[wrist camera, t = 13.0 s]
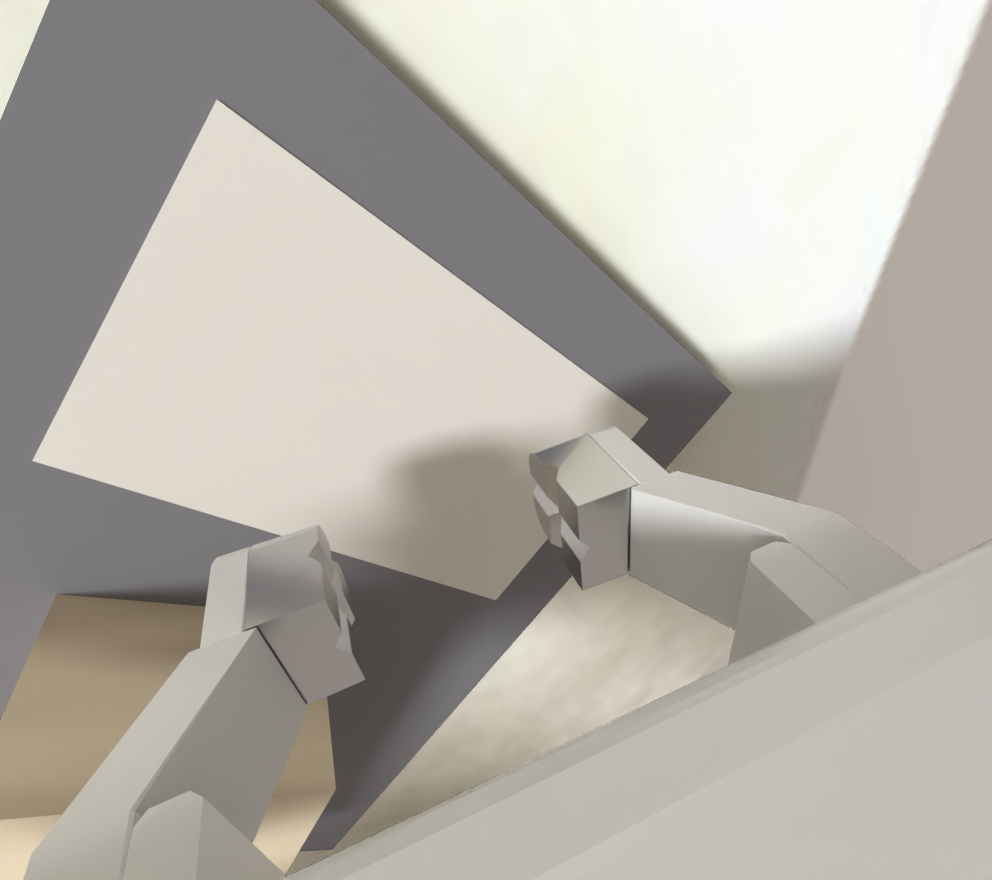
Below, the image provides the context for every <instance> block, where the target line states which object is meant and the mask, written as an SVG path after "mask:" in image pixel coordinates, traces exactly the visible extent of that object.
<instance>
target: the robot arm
mask: <svg viewBox="0 0 992 880" xmlns="http://www.w3.org/2000/svg"><path fill="white" fill-rule="evenodd" d="M529 468H530V474H531V475H532V477H533V478H534V479H535V481H536V482H537V486H536V488H535V490H534V492H533V499H534V505H535V510H536V513H537V516H538V519H539V522H540V524H541V526H542V529H543V531H544V533H545V534H546V536H547V537H548V539H549V541H550V542H551V544H553V545H556V546H558V547H561V548H562V553H563V562H564V563H565V565H566V566H567V568H568V569H569V571H570V572H571V574H572V575H573V577H574V578H575V580H576V581H577V583H578V584H579V586H580V587H581V589H582V590H585V589H588V588H590V587H593V586H595V585H598V584H601V583H603V582H606V581H609V580H611V579H614V578H617V577H619V576H622V575H624V574H627V573H630V576H632V577H634V578H636V579H638V580H640V581H642V582H644V583H646V584H648V585H650V586H652V587H653V588H655V589H657V590H659V591H661V592H663V593H665V594H667V595H669V596H671V597H673V598H674V599H676V600H678V601H680V602H682V603H684V604H686V605H688V606H690V607H692V608H694V609H696V610H697V611H699V612H701V613H703V614H705V615H707V616H709V617H711V618H713V619H715V620H717V621H718V622H720V623H722V624H724V625H726V626H728V627H730V628H732V629H734V630H735V633H734V638H733V643H732V647H731V652H730V657H729V664H728V666H726V667H724V668H721V669H719V670H717V671H715V672H713V673H711V674H709V675H707V676H705V677H703V678H700V679H698V680H696V681H694V682H692V683H690V684H688V685H686V686H684V687H682V688H680V689H677V690H675V691H673V692H671V693H669V694H667V695H665V696H663V697H661V698H659V699H656V700H654V701H652V702H650V703H648V704H646V705H644V706H642V707H640V708H638V709H636V710H633V711H631V712H629V713H627V714H625V715H623V716H621V717H619V718H617V719H615V720H613V721H610V722H608V723H606V724H604V725H602V726H600V727H598V728H596V729H594V730H592V731H590V732H587V733H585V734H583V735H581V736H579V737H577V738H575V739H573V740H571V741H569V742H567V743H565V744H562V745H560V746H558V747H556V748H554V749H552V750H550V751H548V752H546V753H544V754H542V755H539V756H537V757H535V758H533V759H531V760H529V761H527V762H525V763H523V764H521V765H519V766H517V767H514V768H512V769H510V770H508V771H506V772H504V773H502V774H500V775H498V776H496V777H494V778H492V779H489V780H487V781H485V782H483V783H481V784H479V785H477V786H475V787H473V788H471V789H469V790H467V791H464V792H462V793H460V794H458V795H456V796H454V797H452V798H450V799H448V800H446V801H444V802H441V803H439V804H437V805H435V806H433V807H431V808H429V809H427V810H425V811H423V812H421V813H419V814H416V815H414V816H412V817H410V818H408V819H406V820H404V821H402V822H400V823H398V824H396V825H394V826H391V827H389V828H387V829H385V830H383V831H381V832H379V833H377V834H375V835H373V836H371V837H368V838H366V839H364V840H362V841H360V842H358V843H356V844H354V845H352V846H350V847H348V848H345V849H343V850H341V851H339V852H337V853H335V854H333V855H331V856H329V857H327V858H325V859H323V860H320V861H318V862H316V863H314V864H312V865H310V866H308V867H306V868H304V869H302V870H300V871H297V872H295V873H293V874H291V875H289V876H286V875H285V874H284V873H283V872H282V871H281V870H280V869H279V868H278V867H277V866H276V865H275V864H274V863H273V862H272V861H270V860H269V859H268V858H267V857H266V856H265V855H264V854H263V853H262V852H261V851H260V850H259V849H258V848H257V847H256V846H255V845H253V841H254V839H255V837H256V834H257V832H258V829H259V827H260V825H261V822H262V820H263V817H264V815H265V813H266V810H267V808H268V805H269V803H270V800H271V798H272V796H273V793H274V791H275V788H276V786H277V784H278V781H279V779H280V776H281V774H282V771H283V769H284V767H285V764H286V762H287V759H288V757H289V755H290V752H291V750H292V747H293V745H294V743H295V740H296V738H297V735H298V733H299V730H300V728H301V726H302V723H303V721H304V718H305V716H306V714H307V711H308V707H307V705H309V704H311V703H314V702H316V701H318V700H320V699H323V698H325V697H327V696H329V695H332V694H334V693H336V692H339V691H341V690H343V689H345V688H348V687H350V686H352V685H354V684H357V683H359V682H361V681H363V680H365V675H364V669H363V663H362V657H361V651H360V645H359V641H358V639H357V637H356V635H355V632H354V630H353V628H352V624H353V622H354V620H355V615H354V610H353V605H352V601H351V597H350V593H349V590H348V586H347V583H346V581H345V578H344V575H343V573H342V570H341V568H340V566H339V564H338V563H337V562H335V561H333V560H332V558H331V552H330V545H329V542H328V540H327V537H326V535H325V533H324V531H323V529H322V528H321V527H320V526H319V525H315V526H312V527H309V528H306V529H303V530H300V531H296V532H293V533H290V534H287V535H284V536H281V537H277V538H274V539H271V540H268V541H265V542H262V543H259V544H255V545H252V547H247V548H244V549H241V550H238V551H235V552H232V553H229V554H225V555H222V556H219V557H217V558H216V559H215V560H214V562H213V563H212V565H211V570H210V577H209V585H208V592H207V599H206V607H205V614H204V622H203V629H202V636H201V644H200V648H199V649H197V650H194V651H191V652H189V653H188V654H187V655H186V656H185V658H184V659H183V660H182V661H181V663H180V664H179V665H178V667H177V668H176V669H175V670H174V672H173V673H172V674H171V676H170V677H169V678H168V679H167V681H166V682H165V683H164V685H163V686H162V687H161V688H160V690H159V691H158V692H157V694H156V695H155V696H154V697H153V699H152V700H151V701H150V703H149V704H148V705H147V706H146V708H145V709H144V710H143V712H142V713H141V714H140V715H139V717H138V718H137V719H136V721H135V722H134V723H133V724H132V726H131V727H130V728H129V730H128V731H127V732H126V733H125V735H124V736H123V737H122V739H121V740H120V741H119V742H118V744H117V745H116V746H115V748H114V749H113V750H112V751H111V753H110V754H109V755H108V757H107V758H106V759H105V760H104V762H103V763H102V764H101V766H100V767H99V768H98V769H97V771H96V772H95V773H94V774H93V776H92V777H91V778H90V780H89V781H88V782H87V783H86V785H85V786H84V787H83V789H82V790H81V791H80V792H79V794H78V795H77V796H76V798H75V799H74V800H73V801H72V803H71V804H70V805H69V807H68V808H67V809H66V810H65V812H64V813H63V814H62V816H61V817H60V818H59V819H58V821H57V822H56V823H55V825H54V826H53V827H52V828H51V830H50V831H49V832H48V834H47V835H46V836H45V837H44V839H43V840H42V841H41V843H40V844H39V845H38V846H37V848H36V849H35V850H34V852H33V853H32V854H31V857H30V860H29V863H28V866H27V870H26V873H25V876H24V879H23V880H992V539H991V540H989V541H987V542H985V543H982V544H980V545H978V546H976V547H974V548H972V549H970V550H968V551H966V552H964V553H962V554H960V555H957V556H955V557H954V558H951V559H949V560H947V561H945V562H943V563H941V564H939V565H937V566H935V567H932V568H930V569H928V570H926V571H924V572H922V571H921V570H919V569H918V568H916V567H915V566H913V565H912V564H910V563H909V562H908V561H906V560H905V559H903V558H902V557H900V556H899V555H897V554H896V553H895V552H893V551H892V550H890V549H889V548H887V547H886V546H885V545H883V544H882V543H880V542H879V541H878V540H876V539H875V538H873V537H872V536H870V535H869V534H868V533H866V532H865V531H863V530H862V529H860V528H859V527H857V526H856V525H855V524H853V523H852V522H850V521H849V520H848V519H846V518H845V517H843V516H842V515H840V514H839V513H837V512H833V511H829V510H826V509H822V508H818V507H814V506H810V505H806V504H803V503H799V502H795V501H791V500H787V499H783V498H780V497H776V496H772V495H768V494H764V493H760V492H757V491H753V490H749V489H745V488H741V487H738V486H734V485H730V484H726V483H722V482H718V481H715V480H711V479H707V478H703V477H699V476H695V475H692V474H688V473H684V472H680V471H675V472H673V473H670V474H669V473H668V472H667V471H666V470H665V469H664V468H662V467H661V466H660V465H659V464H658V463H657V462H656V461H654V460H653V459H652V458H651V457H650V456H649V455H648V454H646V453H645V452H644V451H643V450H642V449H641V448H640V447H638V446H637V445H636V444H635V443H634V442H633V441H632V440H631V439H629V438H628V437H627V436H626V435H625V434H624V433H623V432H621V431H620V430H619V429H618V428H617V427H616V426H613V425H606V426H604V427H601V428H598V429H595V430H593V431H590V432H587V433H585V434H583V435H582V436H579V437H576V438H573V439H570V440H567V441H564V442H561V443H558V444H556V445H553V446H550V447H547V448H544V449H541V450H538V451H535V452H532V453H530V455H529Z"/></svg>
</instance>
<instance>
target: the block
mask: <svg viewBox="0 0 992 880" xmlns="http://www.w3.org/2000/svg"><path fill="white" fill-rule="evenodd" d="M204 614H205V607H204V606H192V605H180V604H168V603H156V602H144V601H132V600H120V599H108V598H96V597H84V596H72V595H60V594H57V595H56V597H55V599H54V601H53V604H52V606H51V608H50V610H49V613H48V615H47V617H46V619H45V621H44V624H43V626H42V628H41V630H40V633H39V635H38V637H37V639H36V642H35V644H34V646H33V648H32V651H31V653H30V655H29V657H28V660H27V662H26V664H25V666H24V669H23V671H22V673H21V675H20V677H19V680H18V682H17V684H16V686H15V689H14V691H13V693H12V695H11V698H10V700H9V702H8V704H7V707H6V709H5V711H4V713H3V716H2V718H1V720H0V880H23V879H24V876H25V873H26V870H27V866H28V863H29V860H30V857H31V854H32V853H33V852H34V850H35V849H36V848H37V846H38V845H39V844H40V843H41V841H42V840H43V839H44V837H45V836H46V835H47V834H48V832H49V831H50V830H51V828H52V827H53V826H54V825H55V823H56V822H57V821H58V819H59V818H60V817H61V816H62V814H63V813H64V812H65V810H66V809H67V808H68V807H69V805H70V804H71V803H72V801H73V800H74V799H75V798H76V796H77V795H78V794H79V792H80V791H81V790H82V789H83V787H84V786H85V785H86V783H87V782H88V781H89V780H90V778H91V777H92V776H93V774H94V773H95V772H96V771H97V769H98V768H99V767H100V766H101V764H102V763H103V762H104V760H105V759H106V758H107V757H108V755H109V754H110V753H111V751H112V750H113V749H114V748H115V746H116V745H117V744H118V742H119V741H120V740H121V739H122V737H123V736H124V735H125V733H126V732H127V731H128V730H129V728H130V727H131V726H132V724H133V723H134V722H135V721H136V719H137V718H138V717H139V715H140V714H141V713H142V712H143V710H144V709H145V708H146V706H147V705H148V704H149V703H150V701H151V700H152V699H153V697H154V696H155V695H156V694H157V692H158V691H159V690H160V688H161V687H162V686H163V685H164V683H165V682H166V681H167V679H168V678H169V677H170V676H171V674H172V673H173V672H174V670H175V669H176V668H177V667H178V665H179V664H180V663H181V661H182V660H183V659H184V658H185V656H186V655H187V654H188V653H189V652H191V651H194V650H197V649H199V648H200V644H201V636H202V629H203V622H204ZM307 707H308V711H307V714H306V716H305V718H304V721H303V723H302V726H301V728H300V730H299V733H298V735H297V738H296V740H295V743H294V745H293V747H292V750H291V752H290V755H289V757H288V759H287V762H286V764H285V767H284V769H283V771H282V774H281V776H280V779H279V781H278V784H277V786H276V788H275V791H274V793H273V796H272V798H271V800H270V803H269V805H268V808H267V810H266V813H265V815H264V817H263V820H262V822H261V825H260V827H259V829H258V832H257V834H256V837H255V839H254V841H253V845H255V846H256V847H257V848H258V849H259V850H260V851H261V852H262V853H263V854H264V855H265V856H266V857H267V858H268V859H269V860H270V861H272V862H273V863H274V864H275V865H276V866H277V867H278V868H279V869H280V870H281V871H282V872H283V873H284V874H286V872H287V871H288V869H289V867H290V866H291V864H292V862H293V861H294V859H295V857H296V856H297V854H298V852H299V851H300V849H301V847H302V845H303V844H304V842H305V840H306V839H307V837H308V835H309V834H310V832H311V830H312V829H313V827H314V825H315V824H316V822H317V820H318V819H319V817H320V815H321V814H322V812H323V810H324V809H325V807H326V805H327V803H328V802H329V800H330V798H331V797H332V795H333V793H334V792H335V790H336V784H335V773H334V763H333V753H332V743H331V732H330V722H329V712H328V702H327V697H325V698H323V699H320V700H318V701H316V702H314V703H311V704H309V705H307Z"/></svg>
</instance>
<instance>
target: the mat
mask: <svg viewBox="0 0 992 880" xmlns="http://www.w3.org/2000/svg"><path fill="white" fill-rule="evenodd" d="M731 393H732V392H731V391H729V390H728V389H727V388H726V387H725V386H724V385H723V384H722V383H721V382H720V381H719V380H718V379H717V378H716V377H715V376H714V375H712V374H711V373H710V372H709V371H708V370H707V369H706V368H705V367H704V366H703V365H702V364H701V363H700V362H699V361H698V360H697V359H696V358H694V357H693V356H692V355H691V354H690V353H689V352H688V351H687V350H686V349H685V348H684V347H683V346H682V345H681V344H680V343H679V342H677V341H676V340H675V339H674V338H673V337H672V336H671V335H670V334H669V333H668V332H667V331H666V330H665V329H664V328H663V327H662V326H661V325H659V324H658V323H657V322H656V321H655V320H654V319H653V318H652V317H651V316H650V315H649V314H648V313H647V312H646V311H645V310H644V309H642V308H641V307H640V306H639V305H638V304H637V303H636V302H635V301H634V300H633V299H632V298H631V297H630V296H629V295H628V294H627V293H626V292H624V291H623V290H622V289H621V288H620V287H619V286H618V285H617V284H616V283H615V282H614V281H613V280H612V279H611V278H610V277H609V276H607V275H606V274H605V273H604V272H603V271H602V270H601V269H600V268H599V267H598V266H597V265H596V264H595V263H594V262H593V261H592V260H591V259H589V258H588V257H587V256H586V255H585V254H584V253H583V252H582V251H581V250H580V249H579V248H578V247H577V246H576V245H575V244H574V243H572V242H571V241H570V240H569V239H568V238H567V237H566V236H565V235H564V234H563V233H562V232H561V231H560V230H559V229H558V228H557V227H556V226H554V225H553V224H552V223H551V222H550V221H549V220H548V219H547V218H546V217H545V216H544V215H543V214H542V213H541V212H540V211H539V210H537V209H536V208H535V207H534V206H533V205H532V204H531V203H530V202H529V201H528V200H527V199H526V198H525V197H524V196H523V195H522V194H521V193H519V192H518V191H517V190H516V189H515V188H514V187H513V186H512V185H511V184H510V183H509V182H508V181H507V180H506V179H505V178H504V177H502V176H501V175H500V174H499V173H498V172H497V171H496V170H495V169H494V168H493V167H492V166H491V165H490V164H489V163H488V162H487V161H486V160H484V159H483V158H482V157H481V156H480V155H479V154H478V153H477V152H476V151H475V150H474V149H473V148H472V147H471V146H470V145H469V144H467V143H466V142H465V141H464V140H463V139H462V138H461V137H460V136H459V135H458V134H457V133H456V132H455V131H454V130H453V129H452V128H451V127H449V126H448V125H447V124H446V123H445V122H444V121H443V120H442V119H441V118H440V117H439V116H438V115H437V114H436V113H435V112H434V111H432V110H431V109H430V108H429V107H428V106H427V105H426V104H425V103H424V102H423V101H422V100H421V99H420V98H419V97H418V96H417V95H416V94H414V93H413V92H412V91H411V90H410V89H409V88H408V87H407V86H406V85H405V84H404V83H403V82H402V81H401V80H400V79H399V78H397V77H396V76H395V75H394V74H393V73H392V72H391V71H390V70H389V69H388V68H387V67H386V66H385V65H384V64H383V63H382V62H381V61H379V60H378V59H377V58H376V57H375V56H374V55H373V54H372V53H371V52H370V51H369V50H368V49H367V48H366V47H365V46H364V45H362V44H361V43H360V42H359V41H358V40H357V39H356V38H355V37H354V36H353V35H352V34H351V33H350V32H349V31H348V30H347V29H346V28H344V27H343V26H342V25H341V24H340V23H339V22H338V21H337V20H336V19H335V18H334V17H333V16H332V15H331V14H330V13H329V12H327V11H326V10H325V9H324V8H323V7H322V6H321V5H320V4H319V3H318V2H317V1H316V0H50V1H49V4H48V6H47V8H46V11H45V13H44V16H43V18H42V21H41V23H40V25H39V28H38V30H37V33H36V35H35V38H34V40H33V42H32V45H31V47H30V50H29V52H28V55H27V57H26V59H25V62H24V64H23V67H22V69H21V72H20V74H19V76H18V79H17V81H16V84H15V86H14V89H13V91H12V93H11V96H10V98H9V101H8V103H7V105H6V108H5V110H4V113H3V115H2V118H1V120H0V720H1V718H2V716H3V713H4V711H5V709H6V707H7V704H8V702H9V700H10V698H11V695H12V693H13V691H14V689H15V686H16V684H17V682H18V680H19V677H20V675H21V673H22V671H23V669H24V666H25V664H26V662H27V660H28V657H29V655H30V653H31V651H32V648H33V646H34V644H35V642H36V639H37V637H38V635H39V633H40V630H41V628H42V626H43V624H44V621H45V619H46V617H47V615H48V613H49V610H50V608H51V606H52V604H53V601H54V599H55V597H56V595H57V594H60V595H72V596H84V597H96V598H108V599H120V600H132V601H144V602H156V603H168V604H180V605H192V606H204V607H206V599H207V592H208V585H209V577H210V570H211V565H212V563H213V562H214V560H215V559H216V558H217V557H219V556H222V555H225V554H229V553H232V552H235V551H238V550H241V549H244V548H247V547H252V545H255V544H259V543H262V542H265V541H268V540H271V539H274V538H277V537H281V536H284V535H287V534H290V533H293V532H296V531H300V530H303V529H306V528H309V527H312V526H315V525H319V526H320V527H321V528H322V529H323V531H324V533H325V535H326V537H327V540H328V542H329V545H330V552H331V558H332V560H333V561H335V562H337V563H338V564H339V566H340V568H341V570H342V573H343V575H344V578H345V581H346V583H347V586H348V590H349V593H350V597H351V601H352V605H353V610H354V615H355V620H354V622H353V624H352V628H353V630H354V632H355V635H356V637H357V639H358V641H359V645H360V651H361V657H362V663H363V669H364V675H365V680H363V681H361V682H359V683H357V684H354V685H352V686H350V687H348V688H345V689H343V690H341V691H339V692H336V693H334V694H332V695H329V696H327V702H328V712H329V722H330V732H331V743H332V753H333V763H334V773H335V784H336V790H335V792H334V793H333V795H332V797H331V798H330V800H329V802H328V803H327V805H326V807H325V809H324V810H323V812H322V814H321V815H320V817H319V819H318V820H317V822H316V824H315V825H314V827H313V829H312V830H311V832H310V834H309V835H308V837H307V839H306V840H305V842H304V844H303V845H302V847H301V849H300V851H314V850H331V849H333V848H334V847H335V846H336V844H337V843H338V842H339V841H340V840H341V839H342V838H343V836H344V835H345V834H346V833H347V832H348V831H349V830H350V828H351V827H352V826H353V825H354V824H355V823H356V822H357V821H358V819H359V818H360V817H361V816H362V815H363V814H364V813H365V811H366V810H367V809H368V808H369V807H370V806H371V805H372V803H373V802H374V801H375V800H376V799H377V798H378V797H379V795H380V794H381V793H382V792H383V791H384V790H385V789H386V787H387V786H388V785H389V784H390V783H391V782H392V781H393V779H394V778H395V777H396V776H397V775H398V774H399V773H400V771H401V770H402V769H403V768H404V767H405V766H406V765H407V763H408V762H409V761H410V760H411V759H412V758H413V757H414V755H415V754H416V753H417V752H418V751H419V750H420V749H421V747H422V746H423V745H424V744H425V743H426V742H427V741H428V739H429V738H430V737H431V736H432V735H433V734H434V733H435V731H436V730H437V729H438V728H439V727H440V726H441V725H442V723H443V722H444V721H445V720H446V719H447V718H448V717H449V715H450V714H451V713H452V712H453V711H454V710H455V709H456V707H457V706H458V705H459V704H460V703H461V702H462V701H463V699H464V698H465V697H466V696H467V695H468V694H469V693H470V691H471V690H472V689H473V688H474V687H475V686H476V685H477V683H478V682H479V681H480V680H481V679H482V678H483V677H484V675H485V674H486V673H487V672H488V671H489V670H490V669H491V667H492V666H493V665H494V664H495V663H496V662H497V661H498V659H499V658H500V657H501V656H502V655H503V654H504V653H505V651H506V650H507V649H508V648H509V647H510V646H511V645H512V643H513V642H514V641H515V640H516V639H517V638H518V637H519V635H520V634H521V633H522V632H523V631H524V630H525V629H526V627H527V626H528V625H529V624H530V623H531V622H532V621H533V619H534V618H535V617H536V616H537V615H538V614H539V613H540V611H541V610H542V609H543V608H544V607H545V606H546V605H547V603H548V602H549V601H550V600H551V599H552V598H553V597H554V595H555V594H556V593H557V592H558V591H559V590H560V589H561V587H562V586H563V585H564V584H565V583H566V582H567V581H568V579H569V578H570V577H571V576H572V574H571V572H570V571H569V569H568V568H567V566H566V565H565V563H564V562H563V553H562V548H561V547H558V546H556V545H553V544H551V542H550V541H549V539H548V537H547V536H546V534H545V533H544V531H543V529H542V526H541V524H540V522H539V519H538V516H537V513H536V510H535V505H534V499H533V492H534V490H535V488H536V486H537V482H536V481H535V479H534V478H533V477H532V475H531V474H530V468H529V455H530V453H532V452H535V451H538V450H541V449H544V448H547V447H550V446H553V445H556V444H558V443H561V442H564V441H567V440H570V439H573V438H576V437H579V436H582V435H583V434H585V433H587V432H590V431H593V430H595V429H598V428H601V427H604V426H606V425H613V426H616V427H617V428H618V429H619V430H620V431H621V432H623V433H624V434H625V435H626V436H627V437H628V438H629V439H631V440H632V441H633V442H634V443H635V444H636V445H637V446H638V447H640V448H641V449H642V450H643V451H644V452H645V453H646V454H648V455H649V456H650V457H651V458H652V459H653V460H654V461H656V462H657V463H658V464H659V465H660V466H661V467H662V468H664V469H666V468H667V466H668V465H669V464H670V463H671V462H672V461H673V460H674V458H675V457H676V456H677V455H678V454H679V453H680V452H681V450H682V449H683V448H684V447H685V446H686V445H687V444H688V442H689V441H690V440H691V439H692V438H693V437H694V436H695V434H696V433H697V432H698V431H699V430H700V429H701V428H702V426H703V425H704V424H705V423H706V422H707V421H708V420H709V418H710V417H711V416H712V415H713V414H714V413H715V412H716V410H717V409H718V408H719V407H720V406H721V405H722V404H723V402H724V401H725V400H726V399H727V398H728V397H729V396H730V394H731Z"/></svg>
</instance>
